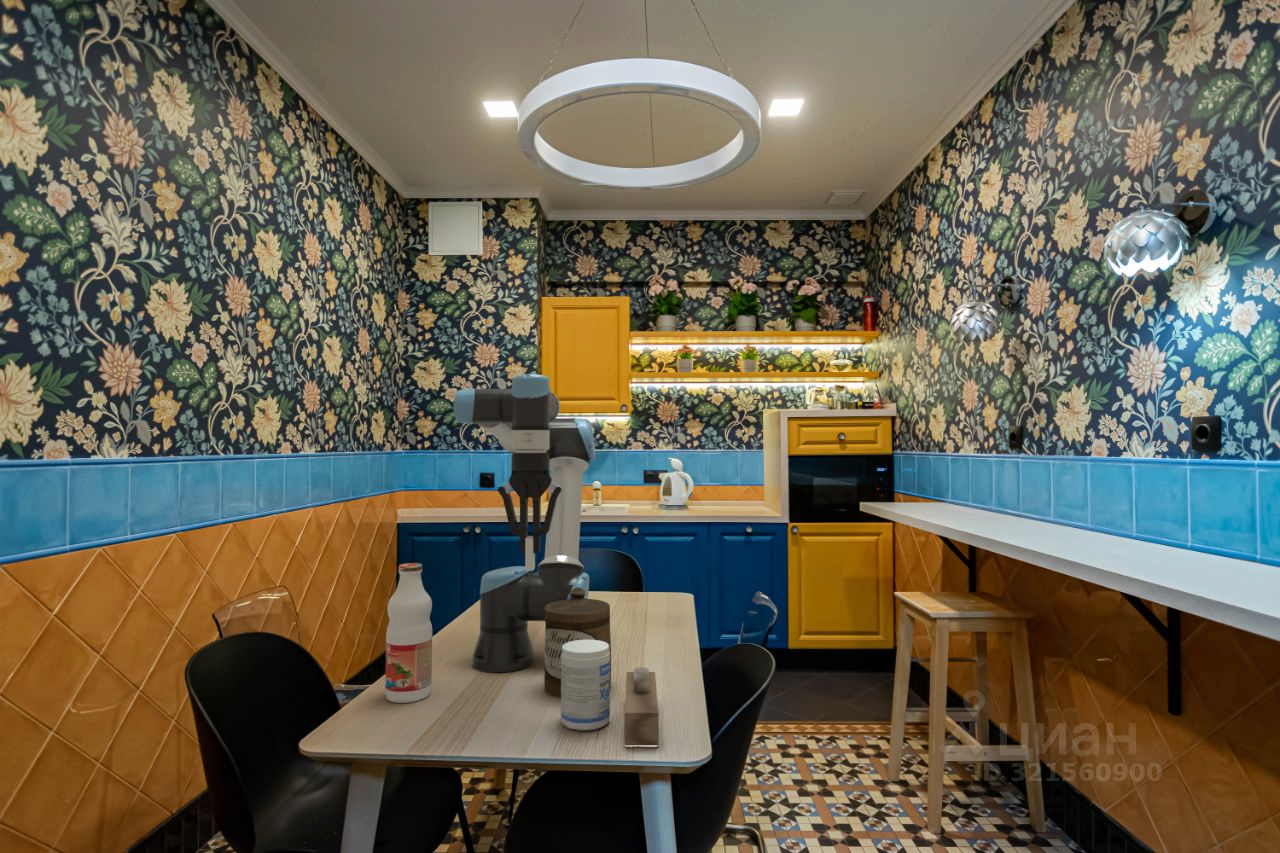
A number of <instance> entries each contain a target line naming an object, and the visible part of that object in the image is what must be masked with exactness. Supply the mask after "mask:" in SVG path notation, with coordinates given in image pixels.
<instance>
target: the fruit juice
mask: <svg viewBox="0 0 1280 853" xmlns="http://www.w3.org/2000/svg"><path fill="white" fill-rule="evenodd" d="M423 569H424V568H423V564H422V563H418V562H411V563H407V562H406V563H402V564H399V565H398V574H399V580H398V584H397V587H396V589H395V591H394V593H393V595H392V596H391V597H390V599H389V600H388V603H387V615H388V619H389V621H388V626H387V627H386V634H385V679H384V680H385V683H384V684H385V685H384V686H385V689H384V690H385V691H384V693H385V695H384V696H385V699H386V700H387V701H388V702H391V703H396V704H406V703H414V702H419V701H421V699H422V700H424V699H425V698H427V697H429V696H430V695H431V692H432V683H433V681H432V678H433V677H432V673H433V671H432V670H433V666H432V665H433V663H432V662H433V627H432V626H433V625H432V623H431V620H430V616H431V613H432V608H433V601H432V597H431V596H430V595H429V593H428V592H427V591H426V590H425V588H424V585H423V580H422V575H421V574H422V572H423Z"/></svg>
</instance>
